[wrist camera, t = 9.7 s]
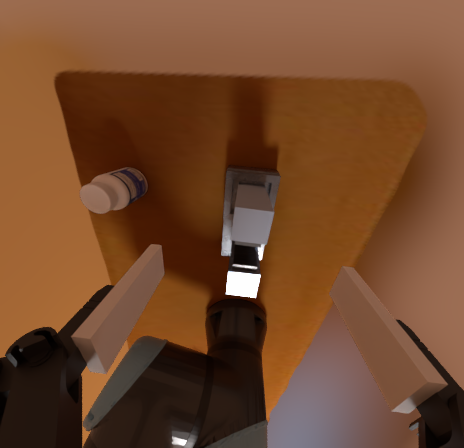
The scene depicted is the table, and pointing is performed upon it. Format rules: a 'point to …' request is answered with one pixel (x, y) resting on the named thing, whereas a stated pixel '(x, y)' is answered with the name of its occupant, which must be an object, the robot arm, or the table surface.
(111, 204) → the pill bottle
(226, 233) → the grey block fixture
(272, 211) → the long gray rectangular block
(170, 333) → the table surface
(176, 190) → the table surface
